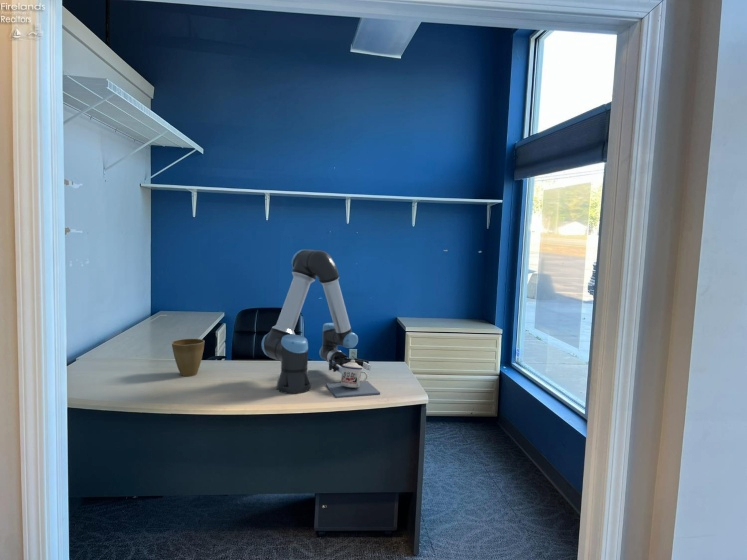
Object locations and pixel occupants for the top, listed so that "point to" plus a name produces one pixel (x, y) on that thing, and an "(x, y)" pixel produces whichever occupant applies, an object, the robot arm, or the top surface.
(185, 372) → the plant pot
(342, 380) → the teacup with lid
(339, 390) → the charcoal mat
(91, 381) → the top surface
